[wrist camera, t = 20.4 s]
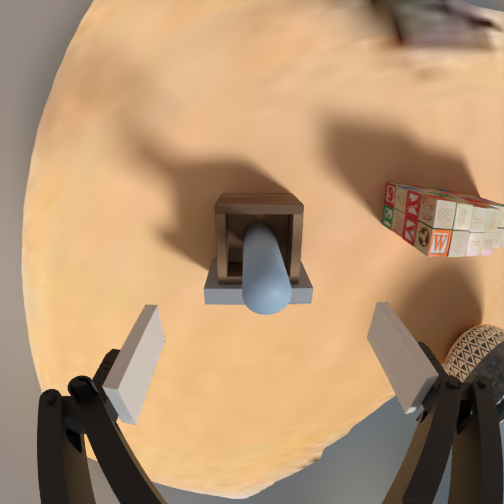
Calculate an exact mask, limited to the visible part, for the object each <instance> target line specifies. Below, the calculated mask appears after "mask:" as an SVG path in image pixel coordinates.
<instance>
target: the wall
mask: <svg viewBox="0 0 504 504" xmlns="http://www.w3.org/2000/svg"><path fill="white" fill-rule="evenodd" d="M290 285H291V288H292V296H291V299H290V301H289V303H288V304H310V303H311V301H312V293H313V287H312V284H311V282H310V280H309V278H308V275H307V273H306V271H305V269H304V267H303V264H302V262H301V260H300V271H299V283H298V284H290ZM204 296H205V304H225V305H245V303H244V301H243V297H242V285H218V269H217V260H212V263H211V266H210V270H209V273H208V276H207V280H206V283H205V286H204Z"/></svg>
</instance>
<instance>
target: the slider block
mask: <svg viewBox="0 0 504 504" xmlns="http://www.w3.org/2000/svg"><path fill="white" fill-rule="evenodd" d="M303 211H304V205H303V204H302V203H301V202H300V201H299V200H298V199H297V198H296V197H295V196H294V195H293V194H221V195H220V197H219V199H218V200H217V202H216V204H215V220H216V247H217V269H218V285H242V281H243V242H244V231H245V228H246V227H247V226H248V225H249V224H250V223H252V222H254V221H264V222H266V223H268V224H269V225H270V226H271V227H272V229H273V231H274V235H275V238H276V241H277V244H278V247H279V250H280V253H281V256H282V259H283V262H284V266H285V269H286V272H287V275H288V278H289V281H290V284H298V283H299V271H300V258H301V244H302V229H303Z"/></svg>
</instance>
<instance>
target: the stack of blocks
mask: <svg viewBox="0 0 504 504" xmlns="http://www.w3.org/2000/svg"><path fill="white" fill-rule="evenodd" d="M384 203H385V205H384V213H383V221H382V225H384V226H385V227H386V228H388V229H389V230H391V231H393V232H395V233H396V234H397V235H399V236H400V237H402V238H403V239H404V240H405V241H407V242H408V243H409V244H411V245H412V246H414V247H416V248H417V249H418V250H419V251H421V252H422V253H423V254H425V255H426V256H427V257H441V256H448V257H460V256H465V257H469V256H478V255H480V256H481V255H492V252H493V248H499V247H504V205H503V204H499V203H496V202H493V201H490V200H487V199H484V198H481V197H475V196H472V195H468V194H462V193H457V192H451V191H443V190H437V189H429V188H423V187H419V186H412V185H405V184H399V183H391V182H386V191H385V202H384Z"/></svg>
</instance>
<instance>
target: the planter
mask: <svg viewBox="0 0 504 504" xmlns="http://www.w3.org/2000/svg"><path fill="white" fill-rule="evenodd" d="M444 370H445V372H446V373H447V374H448V375H452V376H455V377H457V378H458V379H460V381H461V382H472V380H473V379H474V377H475V376H477V375H483V376H485V377H487V378H488V379H489V380H490V382H491V385H492V389H493V394H494V398H495V403H496V409H497V414H498V420H499V423H501V422H502V421H503V420H504V330H503V329H501V328H499V327H497V326H494V325H490V324H483V325H478V326H475V327H472V328H470V329H468V330H467V331H465V332H464V333H463V334H462V335H460V336H459V338H458V339H457V340H456V341H455V342H454V344H453V345H452V347H451V349H450V351H449V353H448V355H447V358H446V362H445V367H444Z"/></svg>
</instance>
